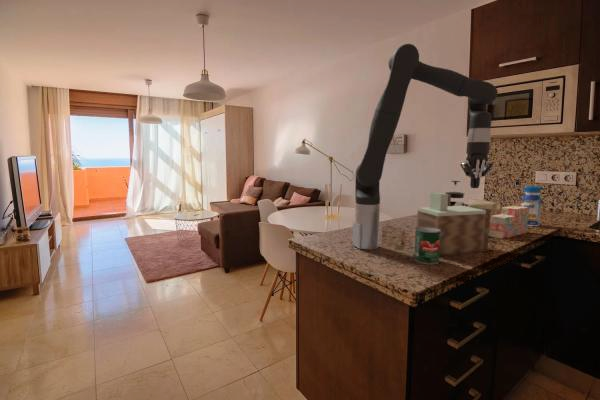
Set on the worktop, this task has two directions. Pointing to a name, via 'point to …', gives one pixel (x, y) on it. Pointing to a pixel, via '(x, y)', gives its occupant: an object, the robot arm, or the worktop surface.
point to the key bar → (484, 204)
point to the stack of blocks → (509, 222)
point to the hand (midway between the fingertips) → (474, 187)
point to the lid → (447, 207)
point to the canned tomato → (427, 245)
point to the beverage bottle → (532, 204)
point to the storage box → (456, 232)
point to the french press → (455, 195)
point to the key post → (487, 223)
